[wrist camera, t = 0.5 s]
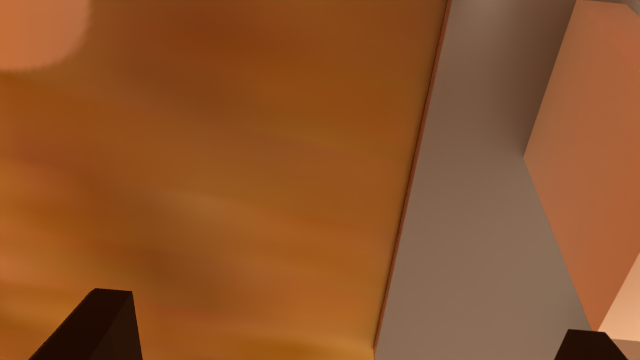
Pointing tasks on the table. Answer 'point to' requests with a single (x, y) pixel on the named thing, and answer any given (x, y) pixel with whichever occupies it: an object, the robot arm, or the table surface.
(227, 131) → the table surface
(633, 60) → the tile
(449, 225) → the slate board
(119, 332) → the robot arm
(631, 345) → the tile
